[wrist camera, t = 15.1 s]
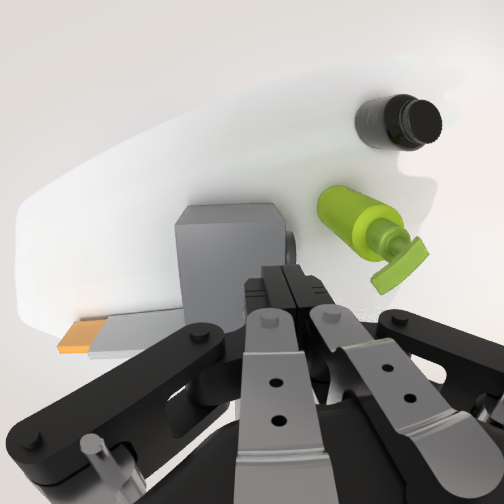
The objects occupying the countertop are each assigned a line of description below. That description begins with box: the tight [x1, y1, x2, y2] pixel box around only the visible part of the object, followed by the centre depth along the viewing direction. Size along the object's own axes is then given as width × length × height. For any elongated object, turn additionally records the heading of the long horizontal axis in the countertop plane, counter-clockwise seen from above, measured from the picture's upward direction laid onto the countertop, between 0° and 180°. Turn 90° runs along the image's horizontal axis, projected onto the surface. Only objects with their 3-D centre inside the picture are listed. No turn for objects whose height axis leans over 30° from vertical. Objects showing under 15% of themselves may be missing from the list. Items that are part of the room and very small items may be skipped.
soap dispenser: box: [317, 186, 429, 295], centre depth 32 cm, size 6×7×20 cm
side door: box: [57, 309, 186, 359], centre depth 40 cm, size 21×1×10 cm, turn 97°
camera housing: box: [175, 203, 296, 333], centre depth 38 cm, size 14×13×11 cm
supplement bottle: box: [356, 94, 442, 151], centre depth 32 cm, size 7×7×12 cm
